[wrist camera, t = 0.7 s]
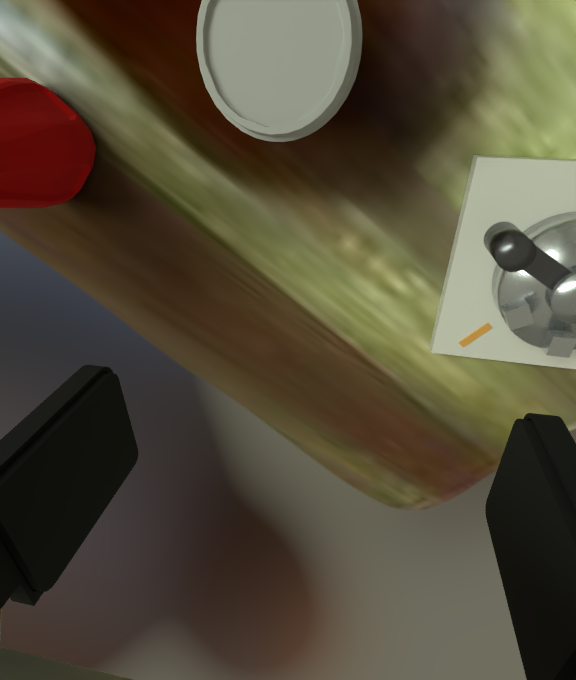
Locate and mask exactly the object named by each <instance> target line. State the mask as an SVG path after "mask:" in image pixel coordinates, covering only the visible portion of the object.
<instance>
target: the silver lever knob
mask: <svg viewBox="0 0 576 680" xmlns="http://www.w3.org/2000/svg"><path fill="white" fill-rule="evenodd" d="M483 241H484V245H485V247H486V249H487V250H488V252H489V253H490V254H491V256H492V257H493V258H494V260H495V261H496V263H497V264H496V267H495V269H494V272H493V277H492V295H493V299H494V302H495V304H496V307H497V309H498V310H499V312H500V314H501V316H502V317H503V319H504V321H505V323H506V324H507V326H508V327H509V329H510V331H512V332H513V333H514V334H515V335H516V336H517V337H519V338H520V339H521V340H523V341H525V342H526V343H528V344H531V345H533V346H536V347H539V348H542V350H543V351H544V353H545V354H546V355H548V356H557V357H566V358H570V356H571V353H572V351H573V350H576V211H574V212H566V213H562V214H558V215H554V216H552V217H549V218H546V219H544V220H542V221H539V222H537V223H535V224H534V225H532V226H530V227H529V228H527V229H526V230H525V231H523V232H522V231H521V230H520V229H518V228H517V227H516V226H515V225H514V224H512V223H510V222H498V223H496V224H494V225H492V226H491V227H490V228H489V229H488V230H487V231H486V233H485V235H484V240H483Z"/></svg>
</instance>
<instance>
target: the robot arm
mask: <svg viewBox="0 0 576 680" xmlns="http://www.w3.org/2000/svg"><path fill="white" fill-rule="evenodd" d="M137 458H138V448H137V444H136V441H135V437H134V433H133V430H132V426H131V422H130V419H129V415H128V411H127V408H126V404H125V401H124V397H123V393H122V390H121V386H120V382H119V378H118V376H117V375H116V374H114V373H113V371H112V370H111V369H110V368H109V367H102V366H93V365H85V366H83V367H81V368H80V369H79V370H78V371H77V372H76V373H75V374H73V375H72V376H71V377H70V378H69V379H68V380H67V381H66V382H64V383H63V384H62V385H61V386H60V387H59V388H58V389H57V390H56V391H54V392H53V393H52V394H51V395H50V396H49V397H48V398H47V399H46V400H44V401H43V402H42V403H41V404H40V405H39V406H38V407H37V408H36V409H34V410H33V411H32V412H31V413H30V414H29V415H28V416H27V417H25V418H24V419H23V420H22V421H21V422H20V423H19V424H18V425H17V426H15V427H14V428H13V429H12V430H11V431H10V432H9V433H8V434H6V435H5V436H4V437H3V438H2V439H1V440H0V628H1V609H2V607H3V605H4V604H5V603H6V601H7V600H8V599H9V597H10V598H11V600H12V601H15V602H19V603H24V604H28V605H33V606H34V605H35V604H36V602H37V601H38V599H39V598H40V596H41V595H42V594H43V592H44V591H48V590H49V589H50V588H52V587H53V585H54V584H55V583H56V581H57V580H58V578H59V577H60V575H61V574H62V572H63V571H64V569H65V568H66V566H67V565H68V563H69V562H70V561H71V559H72V558H73V556H74V554H75V553H76V552H77V550H78V549H79V547H80V546H81V544H82V543H83V541H84V540H85V538H86V537H87V535H88V534H89V532H90V531H91V529H92V528H93V526H94V525H95V523H96V522H97V520H98V519H99V517H100V516H101V514H102V513H103V511H104V510H105V508H106V507H107V505H108V504H109V503H110V501H111V499H112V498H113V497H114V495H115V494H116V492H117V491H118V489H119V487H120V486H121V485H122V483H123V482H124V480H125V479H126V477H127V476H128V474H129V473H130V471H131V470H132V468H133V467H134V465H135V464H136V461H137ZM486 518H487V523H488V527H489V530H490V534H491V539H492V543H493V546H494V550H495V554H496V558H497V563H498V567H499V570H500V575H501V578H502V583H503V587H504V590H505V595H506V599H507V603H508V607H509V610H510V615H511V619H512V623H513V627H514V631H515V634H516V638H517V643H518V647H519V650H520V655H521V658H522V662H523V666H524V670H525V674H526V678H527V680H576V443H575V441H574V439H573V438H572V436H571V434H570V432H569V431H568V429H567V427H566V425H565V423H564V422H563V420H562V419H561V418H560V417H558V416H552V415H543V414H533V413H528V414H526V415H525V417H524V419H517V420H516V421H515V422H514V425H513V427H512V430H511V433H510V436H509V439H508V442H507V444H506V447H505V450H504V453H503V456H502V459H501V461H500V464H499V467H498V470H497V473H496V476H495V478H494V481H493V484H492V487H491V490H490V493H489V495H488V498H487V501H486ZM0 630H1V629H0ZM0 680H132V679H128V678H124V677H120V676H115V675H111V674H108V673H104V672H100V671H96V670H91V669H87V668H83V667H79V666H75V665H71V664H67V663H63V662H59V661H55V660H51V659H47V658H42V657H38V656H35V655H31V654H26V653H22V652H18V651H14V650H10V649H6V648H2V647H0Z"/></svg>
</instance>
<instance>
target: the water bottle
mask: <svg viewBox="0 0 576 680" xmlns="http://www.w3.org/2000/svg"><path fill="white" fill-rule="evenodd" d="M95 152H96V145H95V142H94V139H93V136H92V133H91V131H90V129H89V128H88V127H87V125H86V124H85V123H84V121H83V120H82V118H81V117H80V116H79V114H77V113H76V112H75V111H74V110H73V109H71V108H70V107H69V106H68V105H67V104H65V103H64V102H63V101H62V100H61V99H60V98H59V97H58V96H57V95H56V94H55V93H54V92H53V91H51V90H49V89H47V88H46V87H44V86H42V85H40V84H38V83H36V82H34V81H32V80H30V79H28V78H0V208H44V207H48V206H52V205H56V204H61V203H64V202H67V201H69V200H70V199H71V198H72V197H73V196H75V195H76V194H77V193H78V192H79V191H80V189H81V188H82V187H83V185H84V182H85V180H86V178H87V177H88V175H89V173H90V171H91V170H92V168H93V165H94V159H95Z"/></svg>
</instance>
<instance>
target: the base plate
mask: <svg viewBox="0 0 576 680" xmlns="http://www.w3.org/2000/svg"><path fill="white" fill-rule="evenodd" d="M574 211H576V159H559V158H536V157H512V156H489V155H474V156H473V160H472V164H471V169H470V173H469V177H468V182H467V186H466V190H465V195H464V199H463V203H462V208H461V212H460V217H459V221H458V225H457V230H456V234H455V238H454V243H453V247H452V251H451V256H450V260H449V264H448V269H447V273H446V277H445V282H444V286H443V290H442V295H441V299H440V303H439V308H438V312H437V316H436V321H435V325H434V329H433V334H432V338H431V342H430V348H431V353H439V354H447V355H456V356H465V357H473V358H482V359H491V360H499V361H508V362H517V363H525V364H534V365H543V366H551V367H560V368H569V369H576V350H573V351H572V353H571V356H570V358H566V357H557V356H548V355H546V354H545V353H544V351H543V350H542V348H539V347H536V346H533V345H531V344H528V343H526V342H525V341H523V340H521V339H520V338H519V337H517V336H516V335H515V334H514V333H513V332H512V331H510V329H509V327H508V326H507V324H506V323H505V321H504V319H503V317H502V316H501V314H500V312H499V310H498V309H497V307H496V304H495V302H494V299H493V295H492V277H493V272H494V269H495V267H496V264H497V263H496V261H495V260H494V258H493V257H492V256H491V254H490V253H489V252H488V250H487V249H486V247H485V245H484V241H483V240H484V235H485V233H486V231H487V230H488V229H489V228H490V227H491V226H492V225H494V224H496V223H498V222H510V223H512V224H514V225H515V226H516V227H517V228H518V229H520V230H521V231H522V232H523V231H525V230H526V229H527V228H529V227H530V226H532V225H534V224H535V223H537V222H539V221H542V220H544V219H546V218H549V217H552V216H554V215H558V214H562V213H566V212H574Z"/></svg>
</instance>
